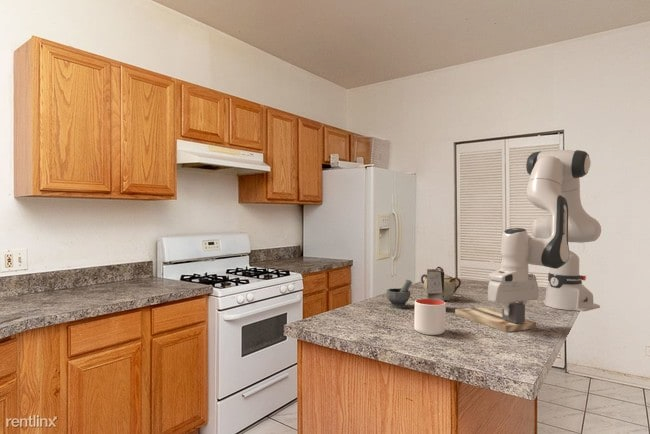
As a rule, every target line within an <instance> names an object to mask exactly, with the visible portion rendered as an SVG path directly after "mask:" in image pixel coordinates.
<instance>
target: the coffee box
mask: <svg viewBox="0 0 650 434" xmlns="http://www.w3.org/2000/svg"><path fill="white" fill-rule="evenodd" d="M442 269H443V268H442ZM442 269H439V268H438V269H435V268H434V269H433V268H432V269H430V268H427V269H426V270H427V271H426V275H427V292H426V299H436V300H441V301H444V302H445V300H444V274H445V271H443V270H444V269H443V270H442Z"/></svg>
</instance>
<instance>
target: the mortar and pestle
mask: <svg viewBox="0 0 650 434" xmlns="http://www.w3.org/2000/svg"><path fill="white" fill-rule="evenodd" d="M412 284H413V282H412V280H410V279H406V280H405V283H403V286H402V287H401V288H396V287H395V288H388V289H387V290H386V297H387V299H388V301H389V302H390V307H391V308H394V309H405V308H406V306H407V305H406V304H407V302H408V301H409V300H410V297H411V290H410V287H411V285H412Z"/></svg>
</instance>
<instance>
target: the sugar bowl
mask: <svg viewBox="0 0 650 434" xmlns="http://www.w3.org/2000/svg"><path fill="white" fill-rule="evenodd" d="M436 269H442V270H443V271H444V269H443V268H442V266H437V267H436ZM444 272H445V271H444ZM424 277H425V278H424ZM420 281H421V283H422V285H423V288H424V290H425V292H426V293H427V274H422V275H421V276H420ZM457 281H458V283H457ZM461 283H462V281H461V279H460V278H459V277H453V276H451V275H448V274H446V273H444V301H449V300H451V298H452V297H453V295H455V293H456V292H457V290H458V289H459V288H460V286H461Z"/></svg>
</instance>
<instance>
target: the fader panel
mask: <svg viewBox="0 0 650 434" xmlns="http://www.w3.org/2000/svg"><path fill="white" fill-rule="evenodd" d="M454 315H456V316H459V317H462V318H465V319H467V320H470V321H473V322H476V323H478V324H481V325H485V326H488V327H491V328H493V329H496V330H499V331H502V332H503V333H507V332H508V333H509V332H515V331H523V330H530V329H537V321H534V320H530V319H526V318H525V322H523V323H514V322H510V321H507V320H504V319H502V311H500V310H496V309H492V308H489V307H486V306H476V307H475V306H474V307H463V308H456V309H454Z"/></svg>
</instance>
